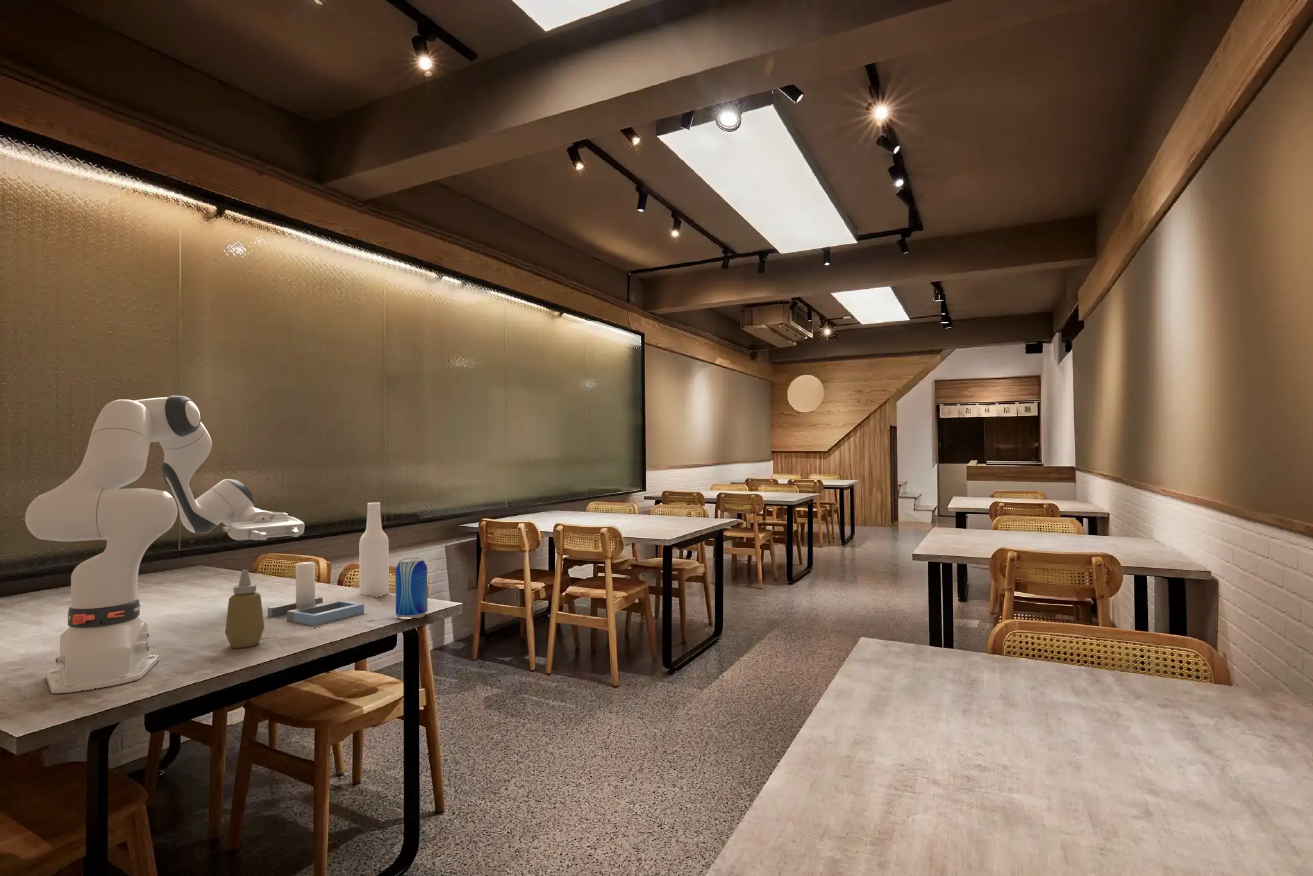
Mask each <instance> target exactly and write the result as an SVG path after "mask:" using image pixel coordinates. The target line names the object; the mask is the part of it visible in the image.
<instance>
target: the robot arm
mask: <svg viewBox="0 0 1313 876" xmlns="http://www.w3.org/2000/svg"><path fill="white" fill-rule="evenodd" d="M201 419H202V417H201V413H200V409H199V407H198V405H197V404H196V403H195V401H194V400H192V399H191V398H189V397H187V396H185V395H184V396H183V395H169V396H168V397H166V396H165V397H153V398H143V399H137V400H136V399H135V400H132V399H126V398H125V399H117V400H116V399H115V400H112V401H110V402H108V403H107V404H105V405H104V406H103V408H102V409H101V410H99V412H98V413H97V415H96V416H95V420H94V425H93V427H92V430H91V432H90V433H91V434H90V437H89V440H88V445H87V447H86V451H85V454H84V457H83V459H82V461H81V464H80V466H79V467H78V468H77V470H76V471H75V472H74V473H73V474H72V475H71V476H70V477H69V478H68V479H67V480H65V481H64V482H63V483H61V484H60V485H58V486H56V487H55V488H53V489H51V490H48V491H46V492H43V493H42V494H39V495H38V496H36V497H35V498H34V499H33V500H32V501H31V502H30V503H29V505H28V506H27V508H26V511H25V514H24V515H25V516H24V522H25V524H26V525H25V526H26V527H27V529H28V531H29V532H30V534H31V535H33V537H35V538H36V539H39V540H45V541H53V542H55V541H56V542H67V543H68V542H81V541H82V542H83V541H98V540H102V541H103V540H104V541H106V545H105V546H106V547H105V549H104V551H103V552H101V553H99V554H97V555H94V556H92V557H90V558H88V559H86V560H83V561H82V562H81V563H79V564H78V565H77V566H75V568H74V569H73V571H72V573H71V576H70V607H68V613H67V626H68V628H67V629H66V630H65V631H63V632H62V633H61V634H60V635H59V656H57V657H56V658H55V663H56V665H58V664H59V668H55V669H52V670H49V671H46V673H45V679H47V680H46V682H47V685H48V687H49V690H50V692H51V694H64V693H74V692H82V690H83V691H89V690H94V689H95V688H96V689H100V688H106V687H112V686H117V685H122V684H126V683H129V682H134V681H137V680H140V679H142V678H143V677H144V676H145V675H146V674H147V673H148V672H149V671H150V670H151V669H152V668H153V667H154V666H155V664H157V663H158V662H159V660H160V656H159V654H150V651H149V650H150V645H149V637H150V636H149V635H150V633H149V624H148V623H147V622H146V621H144V620H142V619H141V618H140V614H141V604H140V599H139V598H138V581H139V580H138V579H139V572H140V571H139V569H140V565H141V562H142V559H143V557H144V555H145V552H146V551H147V550H148V548H149V547H150V546H152V544H153V543H154V541H156V540H157V539H159V537H161V536H163V534H165V533H166V532H168V531H169V530H170V529H171V528H172V527H173V526H174V524H175V522H176V520H177V518H178V517H179V520H180V521H181V523H182V526H183V527H184V528H185V529H186V530H188V531H189V532H190V533H192V534H195V535H204V534H210V533H211V532H212V531H213V530H214V529H215V528H217V526H218V525H219V524H220V523H222V524H223V525H225V526H222V531H224V532H227V535H228V537H229V538H231V539H233V540H235V541H246V540H253V541H258V540H260V541H265V540H267V539H268V538H279V537H289V536H290V537H293V538H297V537H299V536H300V535H303V534H304V532H305V526H306V525H305V522H304V521H302V520H301V519H298V518H296V517H294V516H289V514H288V513H286V512H281V511H280V512H279V511H269V510H264V509H263V510H262V509H261V508H256V507H255V496H254V495H253V493H252V492H251V490H250V489H249V488H248V487H247V486H246V485H245V484H244V483H242V482H240V481H239V480H236V479H231V478H226V479H225V478H224V479H223V480H221V481H219V482H218V483H217V484H215V485H214V486H212V487H211V488H209V489H208V490H207V491H206V492H204V493H202V494H201V495H200V496H198V497H197V498H195V497H194V495H193V492H192V490H191V488H190V481H191V479H192V477H193V475H194V474H195V472H196V471H197V470H198V469H199V468H200V467H201V465H202V464H203V463H204V462H205V461H206V459H207V458H208V457H209V456H210V453H211V450H212V448H213V447H212V446H213V442H212V438H211V436H210V434H209V432H208V430H207V428H206V426H205V425H204V424H203V422H201ZM157 442H158V443H159V445H160V446H161V447H162V451H163V455H164V457H163V463H162V464H161V467H160V470H161V474H162V477H163V479H164V483H165V485H166V487H167V489H168V491H166V490H159V489H155V488H146V487H145V488H144V487H137V488H136V487H135V488H123V487H125V486H128V485H129V484H132V483H134V482H136V481H137V480H139V479H140V478H141V476H142V475H143V474H144V473H145V471H146V470H147V469H146V467H147V463H148V458H149V453H150V446H151V443H157ZM157 661H158V662H157Z"/></svg>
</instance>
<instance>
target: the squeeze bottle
mask: <svg viewBox="0 0 1313 876" xmlns="http://www.w3.org/2000/svg"><path fill="white" fill-rule="evenodd" d="M239 577H240V578H239V581H238V584H237V585H235V586H233V595H231V596H229V598H228V605H227V613H226V623H225V631H224V633H225V636H226V639H227V641H228V643H229V645H230V647H231V648H234V649H235V648H236V649H240V648H241V649H242V648H243V647H244V648H249V647H253V646H255V645H258V644H259V643H260V641H261V637H262V635H263V632H264V629H265V622H264V613H263V605H262V603H263V602H262V596H261V594H260V593H258V592H257V584H255V583H252V581H251V577H250V574H249V571H248V569H247V570H246V569H243V570H241V574H240V576H239Z"/></svg>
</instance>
